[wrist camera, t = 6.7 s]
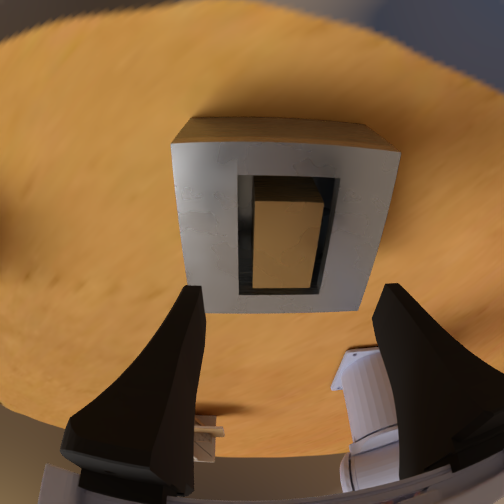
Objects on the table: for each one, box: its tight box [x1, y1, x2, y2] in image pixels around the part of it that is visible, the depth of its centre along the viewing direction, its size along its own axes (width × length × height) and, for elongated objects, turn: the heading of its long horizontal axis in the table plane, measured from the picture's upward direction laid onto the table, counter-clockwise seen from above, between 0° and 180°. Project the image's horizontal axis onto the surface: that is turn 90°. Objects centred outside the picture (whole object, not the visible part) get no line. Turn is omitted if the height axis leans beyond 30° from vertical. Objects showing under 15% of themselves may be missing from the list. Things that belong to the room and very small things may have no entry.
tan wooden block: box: [251, 175, 324, 288], centre depth 17 cm, size 3×5×5 cm, turn 179°
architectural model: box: [194, 415, 225, 462], centre depth 35 cm, size 3×7×7 cm, turn 90°
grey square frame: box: [171, 117, 401, 313], centre depth 17 cm, size 10×10×5 cm
